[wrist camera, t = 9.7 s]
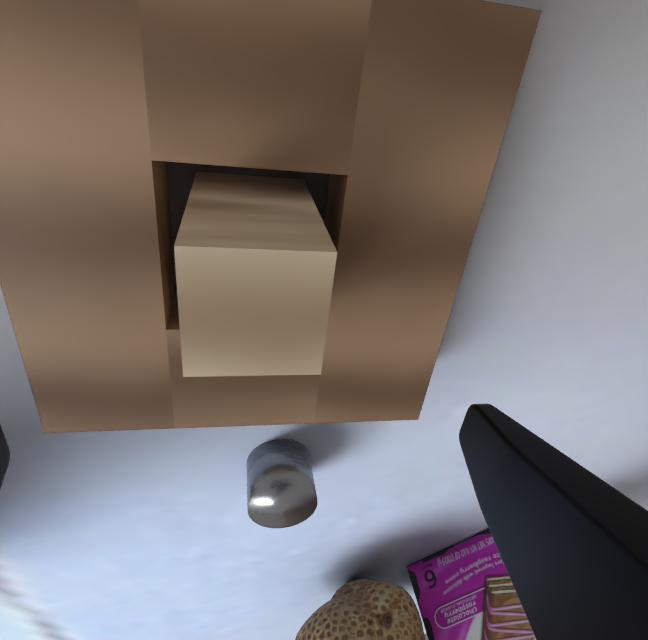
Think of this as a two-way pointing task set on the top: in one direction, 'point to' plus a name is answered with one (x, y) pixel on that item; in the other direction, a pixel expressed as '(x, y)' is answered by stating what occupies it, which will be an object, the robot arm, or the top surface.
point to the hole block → (251, 152)
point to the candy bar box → (469, 594)
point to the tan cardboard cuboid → (252, 277)
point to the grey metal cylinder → (280, 484)
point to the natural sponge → (365, 614)
